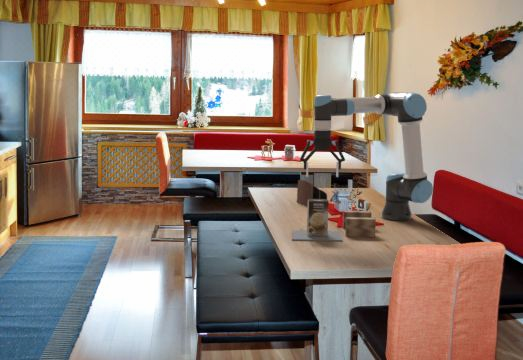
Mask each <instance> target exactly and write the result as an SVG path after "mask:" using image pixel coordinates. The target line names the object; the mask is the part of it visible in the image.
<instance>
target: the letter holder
mask: <svg viewBox="0 0 523 360" xmlns="http://www.w3.org/2000/svg"><path fill="white" fill-rule="evenodd" d="M296 189H297V191H296V192H297V193H296V203H298V204H301V205H303V206H305V207H306V208H308V199H327V200H328V194H327V192H325V191H324V190H322V189H320V188H319V187H317V186H314V185H313V184H312V183H311V182H309V181H308V180H305V179H299V180H297V188H296Z"/></svg>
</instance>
